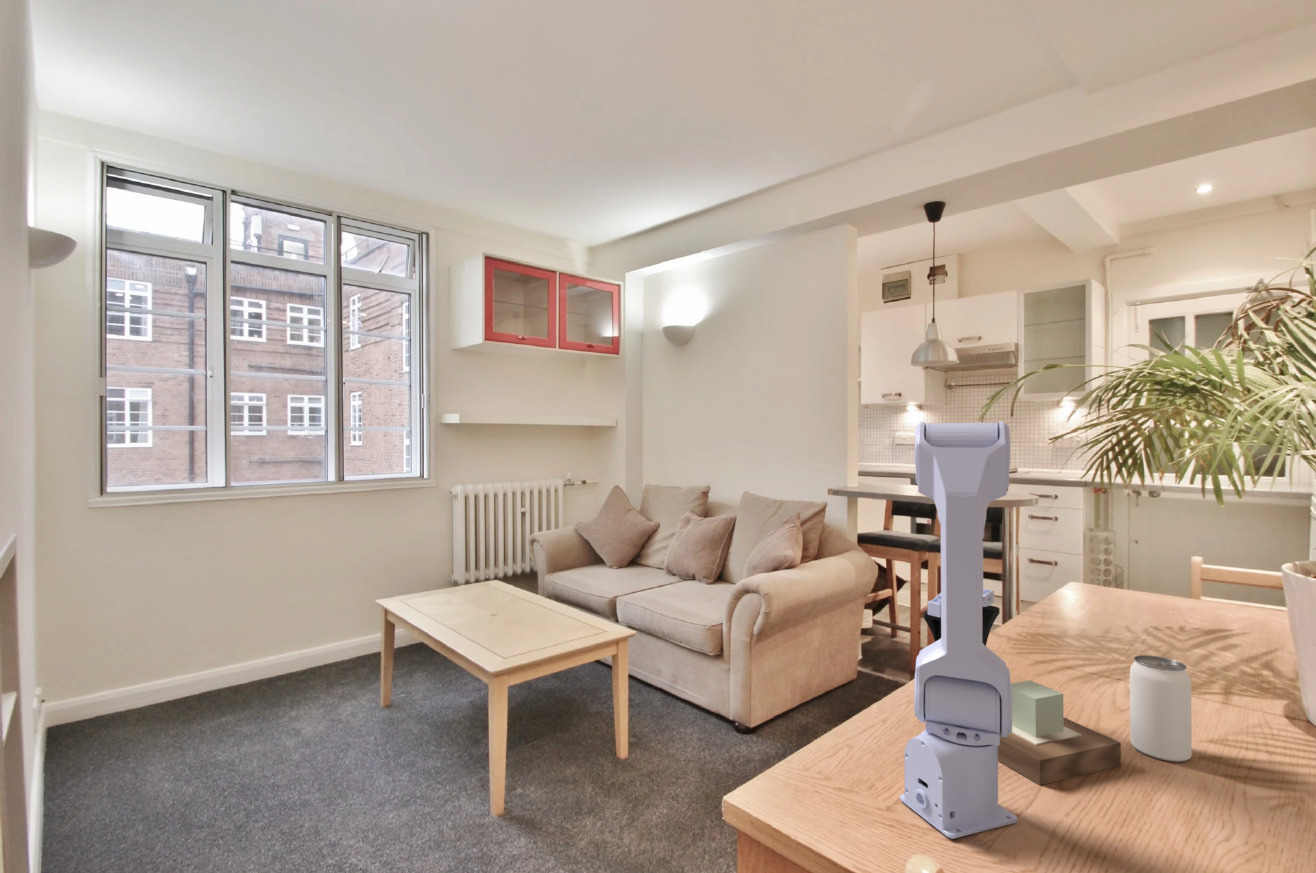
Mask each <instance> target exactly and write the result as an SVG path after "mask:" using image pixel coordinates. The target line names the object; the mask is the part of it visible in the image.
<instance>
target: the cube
mask: <svg viewBox="0 0 1316 873" xmlns="http://www.w3.org/2000/svg"><path fill="white" fill-rule="evenodd" d="M1011 692H1012V726H1014V727H1016V728H1018V729H1020V730H1022V731H1024V732H1026V733H1028V734H1030V735H1032V736H1034V737H1039V736H1044V735H1049V734H1054V733H1059V732H1063V731H1064V721H1063V717H1064V693H1062V692H1060V691H1058V690H1055V689H1053V688H1050V687H1048V686H1045V685H1043V684H1040V683H1038V682H1035V681H1033V680H1031V679H1030V680H1029V679H1028V680H1023V681H1017V682H1011Z"/></svg>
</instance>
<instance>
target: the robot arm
mask: <svg viewBox="0 0 1316 873" xmlns="http://www.w3.org/2000/svg"><path fill="white" fill-rule="evenodd" d="M1010 432H1011V430H1010V426H1009V425H1008V424H1006V422H1005V421H1003V420H999V421H998V423H997V422H937V423H936V422H935V423H934V422H933V423H932V422H931V423H926V422H925V421H921V422H919V424H918V425H916V427H915V431H914V464H915V484H916V485H917V491H918V493H920V494H921V495H924V496H925V497H927V498H929V499H931V500H933V502H934V504H935V508H936V511H937V519H938V522H939V524H940V593H939V594H938V595H936V596H934V598H933V599H931V600H928V601H927V610H924V611H922V612H923V619H924V621H925V622H926V624H927V626H928V628H929V630H930V632H931V634H932V637H933V640H934V641H933V642H932V643H931V644H929V645H927V646H925V647H923V648H922V649H921V650H919V652H918V655H917V656H916V659H915V660H916V661H915V671H914V686H913V689H914V690H913V691H914V692H913V709H914V710H913V711H914V715H915V717H916V718H917V720H918V722H920V723H922V724H923V723H925V729H924V730H923V731H922V732H920V734H918V735H916V736H914V737H912V738H910V739H909V740H908V741H907V743H906V745H905V748H904V793H902V794H900V795H899V800H900V801H901V802H902V803H904V805H906V806H907V807H908V808H910V809H911V810H912V811H913V812H915V813H916V814H918V815H919V816H920V817H922V819H924V820H925V821H926V822H928V823H929V824H931V826H933V827H935V828H936V829H937V830H938V831H940V833H942V834H943V835H944V836H946V837H947V838H948V839H953V840H954V839H957V838H960V837H961V838H962V837H965V836H970V835H973V834H977V833H982V832H985V831H989V830H993V829H996V828H1000V827H1004V826H1008V825H1012V824H1015V823H1018V817H1017V816H1016V815H1015V814H1014V813H1012V812H1010V811H1009V810H1007V809H1006V808H1004V807H1002V806H1001V805H999V762H998V746H999V745H1000V734H1001V737H1005V738H1006V737H1007V736H1008V735H1009V734H1010V733H1012V692H1011V683H1012V682H1011V674H1010V673H1011V672H1010V669H1009V667H1008V666H1007V663H1006V662H1005V660H1003V659H1002V658H1001V657H1000V656H998V655H997V653H995V652H993V650H991V649H990V648H988V646H987V642H988V640H989V635H990V633H991V630H992V627H993V625H994V623H995V621H996V619H997V618H998V617H999V615H1000V613H1001V612H1000V607H999V606H994V605H993V604H994V602H995V597H994V596H995V592H994V590H991V589H985V588H984V541H983V539H984V538H985V526H986V521H987V510H988V507H989V505H990V503H991V502H993V501H995V500H998V499H1001V498H1002V497H1003V498H1004V497H1005V496H1007V494H1008V493H1007V492H1008V491H1007V488H1009V487H1010V469H1011V468H1010V467H1011V466H1010V465H1011V434H1010Z"/></svg>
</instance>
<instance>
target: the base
mask: <svg viewBox="0 0 1316 873" xmlns="http://www.w3.org/2000/svg"><path fill="white" fill-rule="evenodd" d="M1063 721H1064V731H1063V732H1059V733H1054V734H1049V735H1044V736H1039V737H1034V736H1032V735H1030V734H1028V733H1026V732H1024V731H1022V730H1020V729H1018V728H1016V727H1014V726H1012V733H1010V734H1009V735H1008V736H1007V737H1006V738H1005V737H1001V734H1000V745H999V746H998V763H1000V764H1002V765H1004V766H1005V767H1007V768H1009V769H1011V770H1013V771H1014V772H1016V773H1018V774H1019V775H1021V776H1023V777H1025V778H1026V779H1028V780H1030V781H1032V782H1034V784H1037V785H1038V786H1042V785H1046V784H1050V783H1055V782H1059V781H1063V780H1068V779H1071V778H1072V779H1073V778H1075V777H1081V776H1084V775H1088V774H1093V773H1096V772H1097V773H1098V772H1102V771H1105V770H1110V769H1114V768H1118V767H1121V765H1122V763H1121V762H1122V751H1121V749H1122V747H1121V746H1122V745H1121V744H1122V743H1121V742H1120V741H1118V740H1116V739H1113V738H1111V737H1110V736H1107V735H1105V734H1102V733H1101V732H1099V731H1095V730H1094V729H1091V728H1090V727H1087V726H1085V725H1082V724H1080V723H1078V722H1076V721H1073V720H1071V719H1069V718H1067V717H1064V716H1063Z"/></svg>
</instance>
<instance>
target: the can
mask: <svg viewBox="0 0 1316 873" xmlns="http://www.w3.org/2000/svg"><path fill="white" fill-rule="evenodd" d="M1187 669H1188V667H1187V664H1184V663H1182V662H1181V661H1178V660H1175V659H1172V658H1168V657H1163V656H1158V655H1149V654H1148V655H1147V654H1146V655H1145V654H1144V655H1142V654H1140V655H1135V656H1134V657H1133V663H1132V664H1131V666H1130V668H1129V736H1130V737H1129V739H1130V743H1131V745H1132V746H1133V748H1134V749H1135V750H1136V751H1137V752H1139V753H1141V754H1143V755H1145V756H1148V757H1150V758H1153V759H1156V760H1160V761H1164V762H1170V763H1185V762H1187V761H1188V760H1190V759H1191V758H1192V746H1193V745H1192V743H1193V742H1192V680H1191V677H1190V675H1189V674H1188V671H1187Z"/></svg>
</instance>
